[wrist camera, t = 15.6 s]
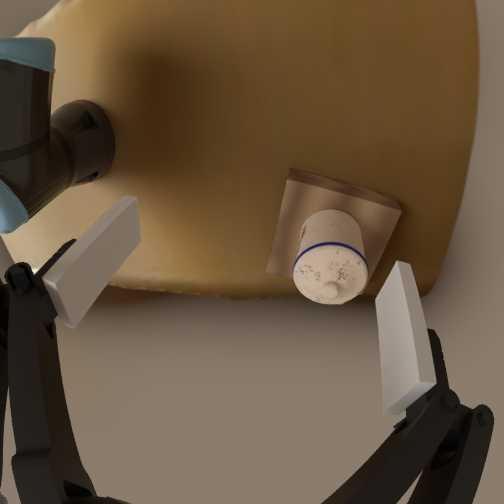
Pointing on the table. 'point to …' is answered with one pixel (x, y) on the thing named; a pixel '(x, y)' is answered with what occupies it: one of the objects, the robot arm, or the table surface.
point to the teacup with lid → (330, 258)
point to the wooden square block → (337, 198)
